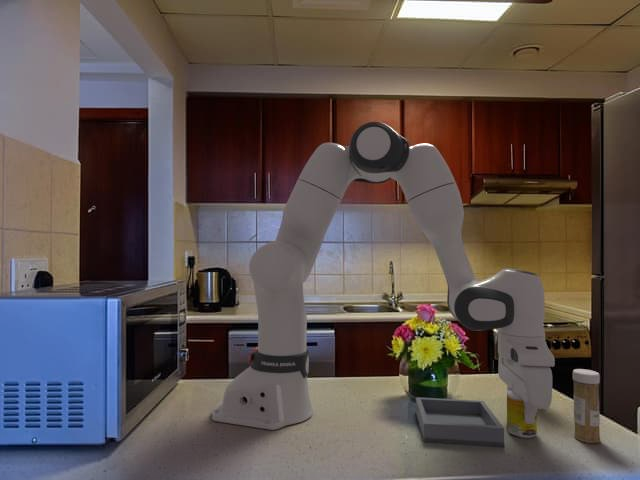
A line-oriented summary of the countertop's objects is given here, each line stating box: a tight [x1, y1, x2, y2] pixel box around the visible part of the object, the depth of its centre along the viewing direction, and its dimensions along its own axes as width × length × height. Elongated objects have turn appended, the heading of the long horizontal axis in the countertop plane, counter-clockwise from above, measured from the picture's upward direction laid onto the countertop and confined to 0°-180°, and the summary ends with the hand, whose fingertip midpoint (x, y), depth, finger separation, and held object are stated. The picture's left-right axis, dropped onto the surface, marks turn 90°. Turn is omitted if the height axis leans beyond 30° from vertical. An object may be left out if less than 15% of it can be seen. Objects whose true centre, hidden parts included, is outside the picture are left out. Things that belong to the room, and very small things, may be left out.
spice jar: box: [572, 368, 601, 444], centre depth 83 cm, size 5×5×13 cm
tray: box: [415, 396, 505, 448], centre depth 88 cm, size 15×15×4 cm
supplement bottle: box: [506, 382, 538, 439], centre depth 86 cm, size 6×6×10 cm
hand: (521, 415), depth 86 cm, fingers open, 6 cm apart
